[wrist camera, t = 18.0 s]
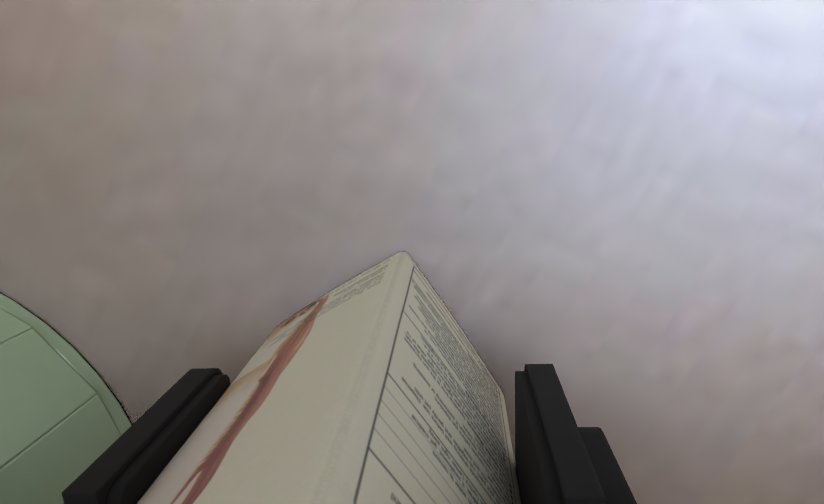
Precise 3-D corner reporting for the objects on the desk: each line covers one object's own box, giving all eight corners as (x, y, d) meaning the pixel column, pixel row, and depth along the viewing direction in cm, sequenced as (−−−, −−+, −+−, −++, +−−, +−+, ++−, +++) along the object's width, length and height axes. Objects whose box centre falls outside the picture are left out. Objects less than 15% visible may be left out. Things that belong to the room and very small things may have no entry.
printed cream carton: (270, 326, 14) (-160, 807, 4) (407, 243, 13) (261, 611, 3) (376, 472, 15) (222, 1147, 5) (512, 405, 14) (636, 1067, 4)
